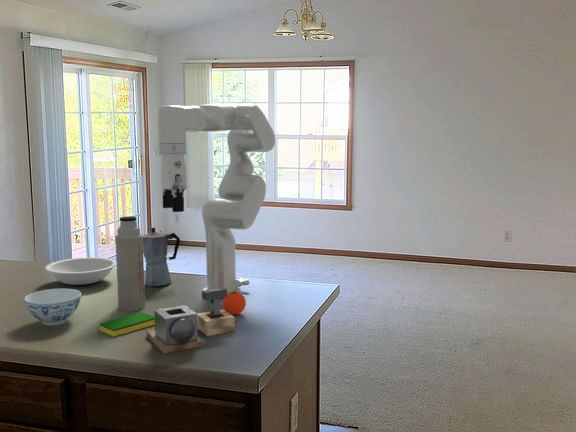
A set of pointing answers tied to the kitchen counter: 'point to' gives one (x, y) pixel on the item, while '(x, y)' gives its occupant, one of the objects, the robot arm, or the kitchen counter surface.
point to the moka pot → (157, 257)
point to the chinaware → (53, 305)
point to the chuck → (176, 325)
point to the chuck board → (172, 347)
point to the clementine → (234, 303)
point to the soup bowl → (81, 270)
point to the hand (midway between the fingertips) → (173, 209)
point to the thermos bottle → (130, 265)
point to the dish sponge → (127, 324)
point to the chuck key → (214, 300)
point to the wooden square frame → (215, 323)
